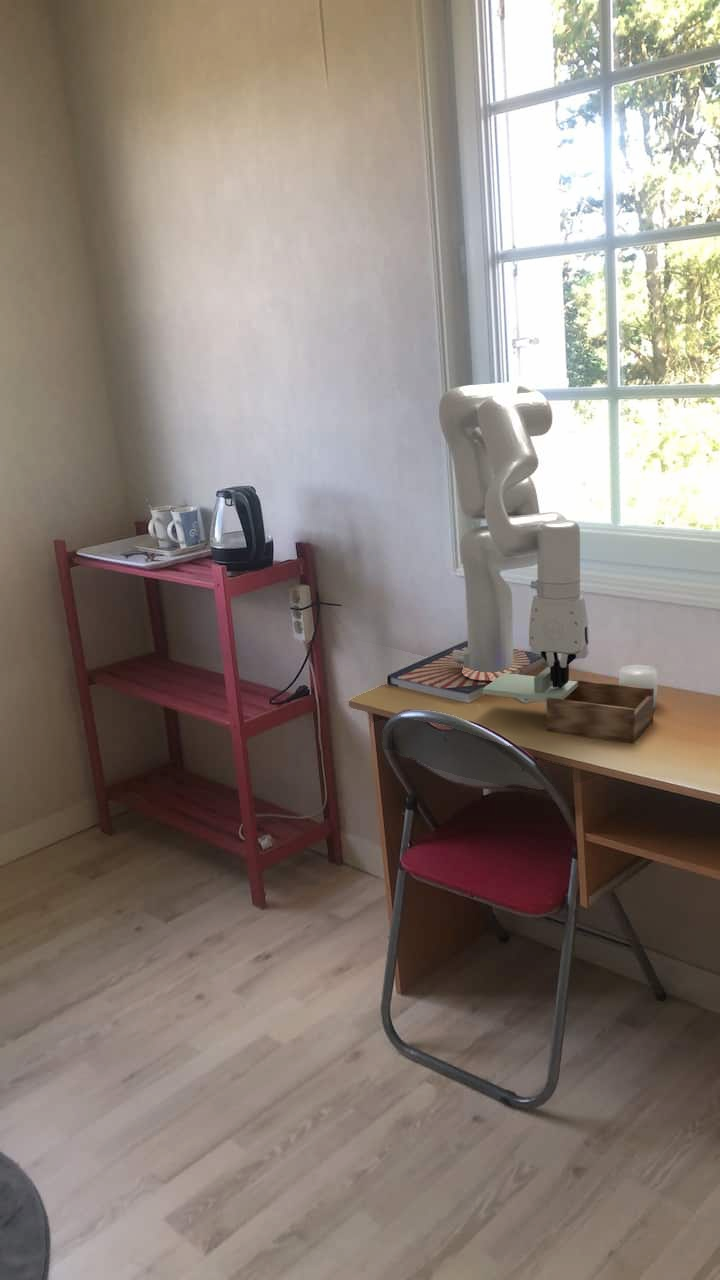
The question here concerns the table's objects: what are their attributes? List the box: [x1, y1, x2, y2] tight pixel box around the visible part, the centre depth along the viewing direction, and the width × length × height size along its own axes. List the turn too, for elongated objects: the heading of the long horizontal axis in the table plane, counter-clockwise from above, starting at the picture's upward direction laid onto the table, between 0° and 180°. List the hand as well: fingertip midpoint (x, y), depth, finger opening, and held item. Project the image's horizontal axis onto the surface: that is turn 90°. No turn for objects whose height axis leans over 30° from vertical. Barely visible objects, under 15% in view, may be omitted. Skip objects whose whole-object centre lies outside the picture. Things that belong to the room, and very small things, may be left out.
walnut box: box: [546, 678, 654, 744], centre depth 199 cm, size 16×12×6 cm
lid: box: [482, 666, 578, 703], centre depth 204 cm, size 15×10×4 cm, turn 59°
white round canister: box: [618, 664, 658, 710], centre depth 208 cm, size 7×7×7 cm
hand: (559, 685), depth 202 cm, fingers closed
